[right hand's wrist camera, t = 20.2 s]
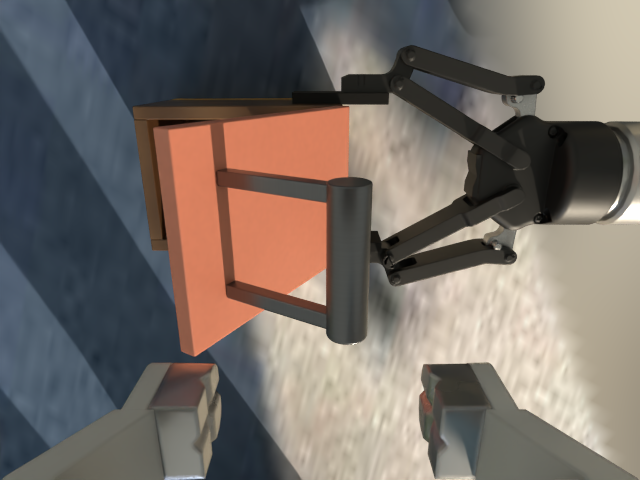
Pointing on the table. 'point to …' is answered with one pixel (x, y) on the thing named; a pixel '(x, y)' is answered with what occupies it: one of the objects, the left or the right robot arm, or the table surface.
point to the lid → (264, 222)
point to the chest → (182, 114)
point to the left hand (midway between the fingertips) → (294, 173)
